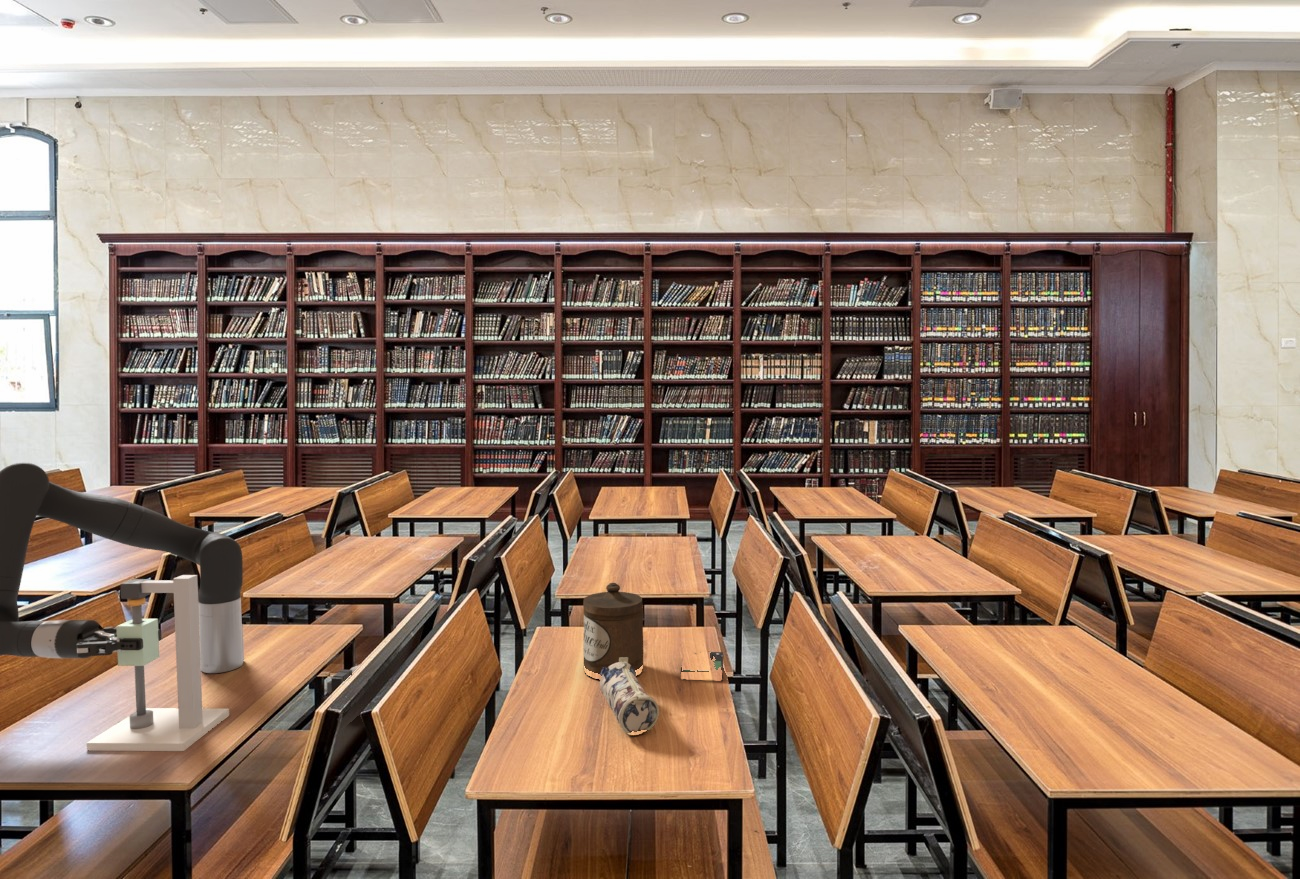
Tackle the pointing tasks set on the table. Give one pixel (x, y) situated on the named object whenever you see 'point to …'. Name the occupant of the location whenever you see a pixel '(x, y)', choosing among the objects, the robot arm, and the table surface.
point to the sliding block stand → (189, 719)
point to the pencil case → (628, 697)
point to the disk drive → (717, 662)
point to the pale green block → (150, 642)
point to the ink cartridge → (340, 678)
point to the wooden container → (612, 629)
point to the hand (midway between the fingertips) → (151, 639)
